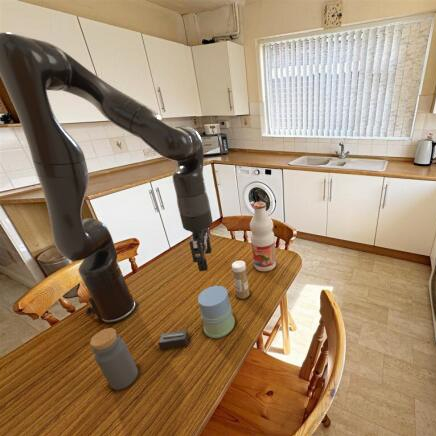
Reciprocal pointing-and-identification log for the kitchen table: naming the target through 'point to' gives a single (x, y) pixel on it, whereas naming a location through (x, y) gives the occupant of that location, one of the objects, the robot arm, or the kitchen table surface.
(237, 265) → the sprinkles bottle
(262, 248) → the fruit juice
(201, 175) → the robot arm
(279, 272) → the kitchen table surface
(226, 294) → the stacked cups
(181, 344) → the clip
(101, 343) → the bottle
